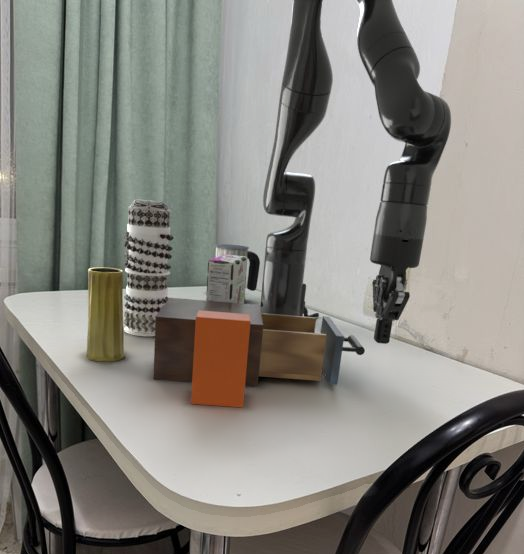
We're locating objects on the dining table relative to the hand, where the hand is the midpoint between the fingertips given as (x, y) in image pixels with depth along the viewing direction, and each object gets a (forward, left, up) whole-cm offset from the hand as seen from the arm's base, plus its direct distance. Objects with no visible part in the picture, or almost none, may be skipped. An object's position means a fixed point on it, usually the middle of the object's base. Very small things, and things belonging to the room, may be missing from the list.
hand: (381, 342), depth 83 cm
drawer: (+11, -6, -6) cm, 14 cm away
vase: (+38, -24, -7) cm, 45 cm away
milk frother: (-7, -67, -7) cm, 68 cm away
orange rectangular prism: (+29, -1, -7) cm, 30 cm away
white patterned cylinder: (+26, -38, -7) cm, 46 cm away
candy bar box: (+15, -26, -7) cm, 31 cm away
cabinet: (+24, -14, -7) cm, 28 cm away
